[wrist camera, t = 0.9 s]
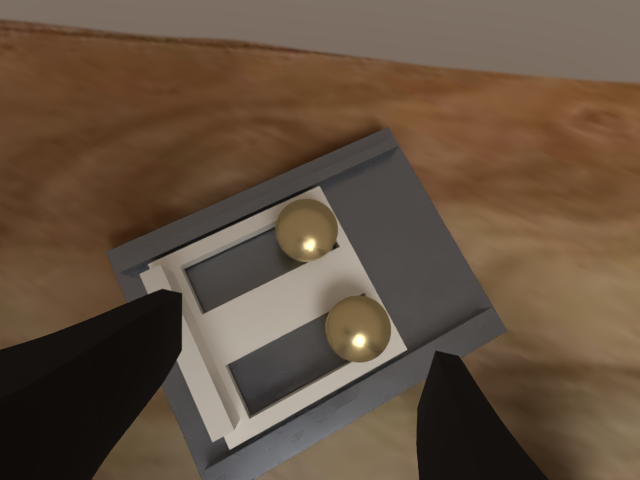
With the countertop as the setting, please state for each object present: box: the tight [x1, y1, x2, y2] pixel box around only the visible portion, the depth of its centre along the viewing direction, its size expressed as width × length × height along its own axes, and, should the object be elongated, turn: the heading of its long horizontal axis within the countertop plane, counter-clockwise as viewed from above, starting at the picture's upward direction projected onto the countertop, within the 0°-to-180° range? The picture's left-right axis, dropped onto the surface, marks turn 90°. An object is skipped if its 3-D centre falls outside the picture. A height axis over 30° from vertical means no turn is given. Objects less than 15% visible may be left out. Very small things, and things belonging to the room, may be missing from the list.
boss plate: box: [106, 127, 507, 480], centre depth 22 cm, size 18×14×4 cm
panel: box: [139, 186, 407, 450], centre depth 21 cm, size 10×10×4 cm
